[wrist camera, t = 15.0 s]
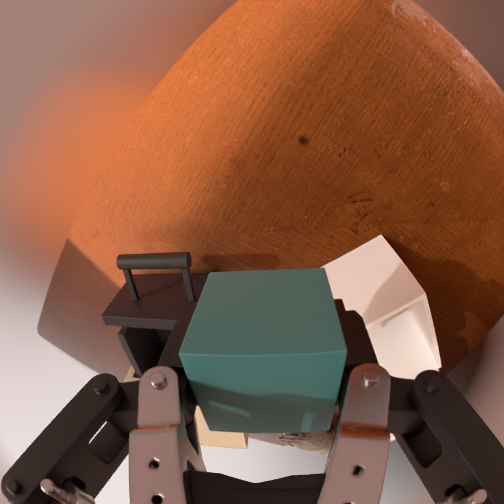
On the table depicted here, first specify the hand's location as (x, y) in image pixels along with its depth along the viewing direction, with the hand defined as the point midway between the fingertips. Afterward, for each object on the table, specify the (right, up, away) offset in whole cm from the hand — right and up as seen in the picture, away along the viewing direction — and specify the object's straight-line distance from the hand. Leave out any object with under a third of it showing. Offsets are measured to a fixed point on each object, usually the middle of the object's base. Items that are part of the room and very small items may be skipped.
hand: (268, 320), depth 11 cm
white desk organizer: (+15, -7, +23) cm, 28 cm away
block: (0, 0, 0) cm, 0 cm away
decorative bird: (+9, -27, +33) cm, 43 cm away
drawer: (-9, -3, +21) cm, 23 cm away
